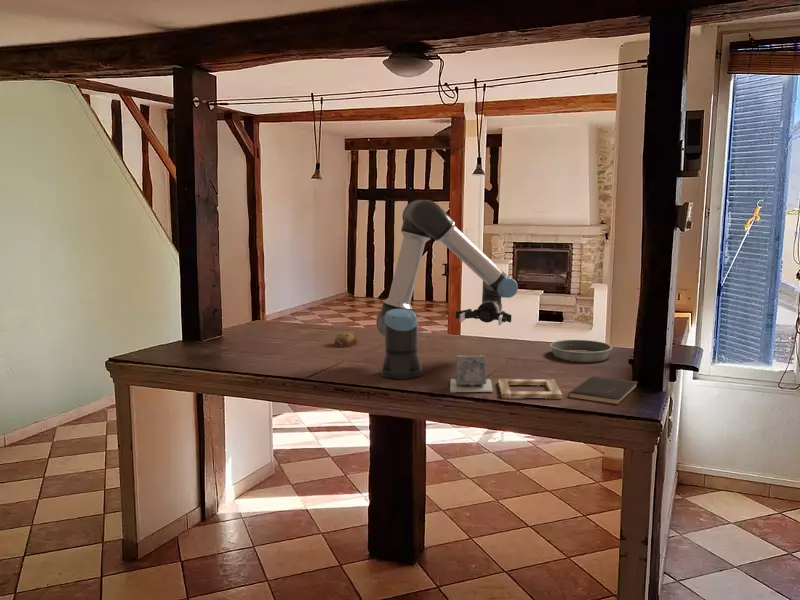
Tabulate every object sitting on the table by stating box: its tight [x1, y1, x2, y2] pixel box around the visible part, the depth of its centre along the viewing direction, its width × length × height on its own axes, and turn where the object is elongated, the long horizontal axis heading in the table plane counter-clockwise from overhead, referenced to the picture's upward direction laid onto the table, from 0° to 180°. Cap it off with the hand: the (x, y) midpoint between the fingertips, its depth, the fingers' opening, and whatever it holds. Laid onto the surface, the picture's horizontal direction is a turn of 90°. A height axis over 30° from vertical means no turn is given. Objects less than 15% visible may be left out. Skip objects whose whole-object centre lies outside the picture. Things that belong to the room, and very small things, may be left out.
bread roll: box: [334, 331, 358, 348], centre depth 295 cm, size 10×10×8 cm
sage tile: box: [449, 378, 494, 393], centre depth 225 cm, size 14×14×1 cm
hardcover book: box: [567, 375, 639, 405], centre depth 217 cm, size 16×23×2 cm
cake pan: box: [549, 339, 613, 363], centre depth 268 cm, size 25×25×4 cm
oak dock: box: [497, 378, 563, 400], centre depth 219 cm, size 19×18×2 cm
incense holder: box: [455, 354, 487, 387], centre depth 224 cm, size 10×8×10 cm
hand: (480, 319), depth 231 cm, fingers open, 13 cm apart
